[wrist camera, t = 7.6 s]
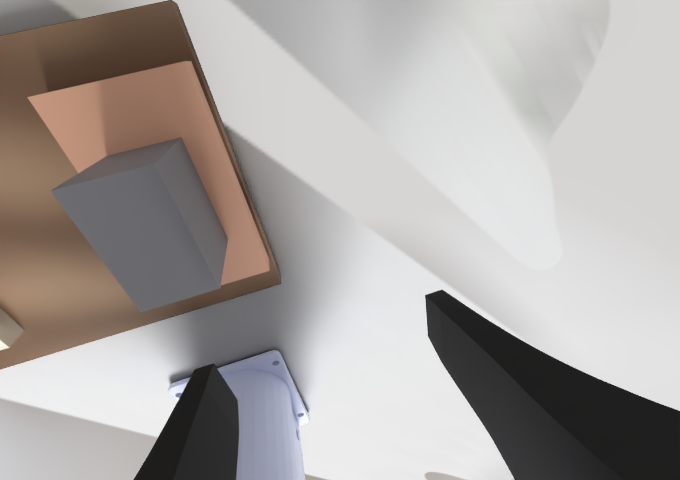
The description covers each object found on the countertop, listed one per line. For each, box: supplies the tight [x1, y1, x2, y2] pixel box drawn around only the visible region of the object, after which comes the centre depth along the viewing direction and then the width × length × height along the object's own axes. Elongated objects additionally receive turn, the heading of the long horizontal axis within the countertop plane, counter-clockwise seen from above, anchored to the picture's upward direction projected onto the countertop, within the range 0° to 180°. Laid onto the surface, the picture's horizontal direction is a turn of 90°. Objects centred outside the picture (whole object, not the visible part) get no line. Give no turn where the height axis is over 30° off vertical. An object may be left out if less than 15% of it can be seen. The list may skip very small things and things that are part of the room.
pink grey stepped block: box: [27, 61, 270, 312], centre depth 13 cm, size 10×6×5 cm, turn 12°
